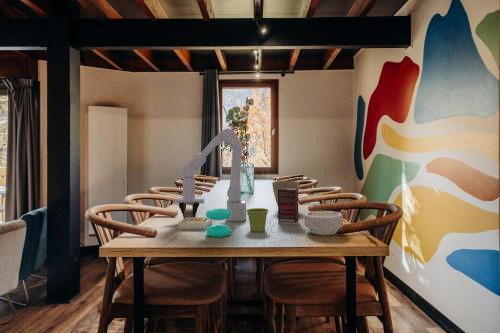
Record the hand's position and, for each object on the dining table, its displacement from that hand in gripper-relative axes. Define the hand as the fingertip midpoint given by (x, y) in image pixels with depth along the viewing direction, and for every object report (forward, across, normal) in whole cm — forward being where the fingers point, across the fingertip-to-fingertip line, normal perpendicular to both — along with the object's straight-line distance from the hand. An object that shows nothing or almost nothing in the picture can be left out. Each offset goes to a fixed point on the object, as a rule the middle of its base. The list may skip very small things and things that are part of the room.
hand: (189, 218), depth 168 cm
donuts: (+2, +19, -25) cm, 31 cm away
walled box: (+1, +6, -11) cm, 13 cm away
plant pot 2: (+2, +46, +29) cm, 54 cm away
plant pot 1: (+2, +34, -17) cm, 38 cm away
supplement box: (+2, +47, -2) cm, 47 cm away
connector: (+1, 0, 0) cm, 1 cm away
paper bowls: (+2, +61, -20) cm, 64 cm away
